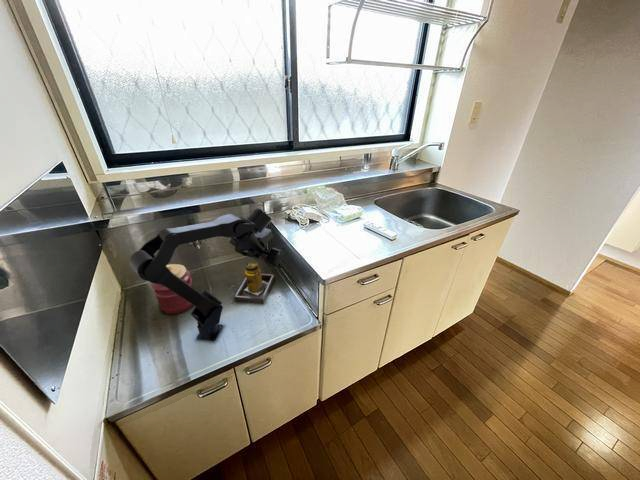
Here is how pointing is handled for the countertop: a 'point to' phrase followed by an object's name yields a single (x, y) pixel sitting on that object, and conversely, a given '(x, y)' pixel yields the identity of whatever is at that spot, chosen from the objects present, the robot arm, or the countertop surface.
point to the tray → (254, 299)
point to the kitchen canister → (168, 298)
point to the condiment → (254, 279)
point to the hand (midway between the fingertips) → (267, 261)
